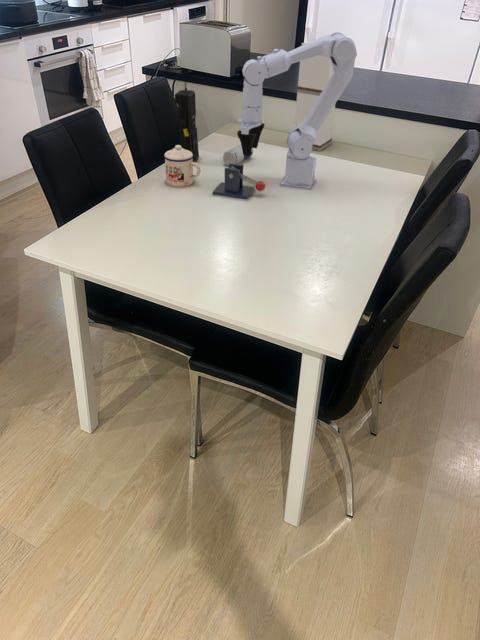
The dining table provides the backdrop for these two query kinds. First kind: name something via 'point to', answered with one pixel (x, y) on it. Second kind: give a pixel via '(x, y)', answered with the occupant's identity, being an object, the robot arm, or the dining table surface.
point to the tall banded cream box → (314, 95)
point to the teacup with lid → (180, 167)
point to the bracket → (233, 184)
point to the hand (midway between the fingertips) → (250, 151)
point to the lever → (252, 181)
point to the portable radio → (187, 121)
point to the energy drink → (235, 155)
